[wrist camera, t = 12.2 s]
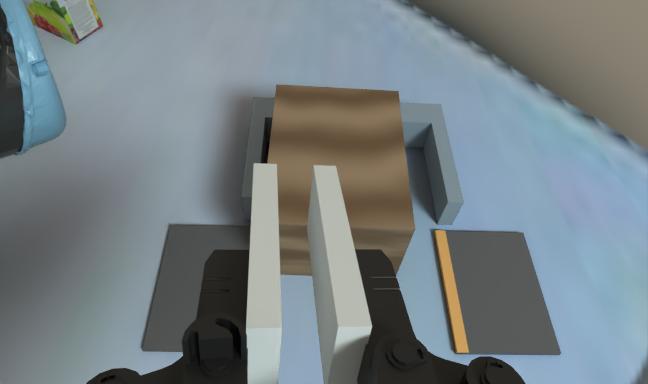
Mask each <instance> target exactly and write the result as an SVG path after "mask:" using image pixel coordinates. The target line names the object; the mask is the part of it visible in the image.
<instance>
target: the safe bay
mask: <svg viewBox="0 0 648 384" xmlns="http://www.w3.org/2000/svg"><path fill="white" fill-rule="evenodd" d="M274 103H275V98H254V97H253V104H252V112H251V120H250V128H249V136H248V144H247V152H246V160H245V168H244V176H243V184H242V192H241V200H242V206H243V213H244V219H245V220H251V210H252V189H253V167H254V163H263V164H265V157H266V146H267V143H270V137H271V128H272V120H273V111H274ZM400 109H401V118H402V126H403V134H404V142H405V147H421V148H423V150H424V155H425V160H426V166H427V171H428V177H429V182H430V187H431V193H432V198H433V204H434V209H435V214H436V220H437V224H441V225H452V224H453V222H454V220H455V218H456V216H457V214H458V212H459V210H460V208H461V206H462V205H463V203H464V201H463V197H462V193H461V188H460V184H459V180H458V176H457V171H456V167H455V163H454V159H453V154H452V150H451V146H450V141H449V137H448V133H447V129H446V124H445V120H444V116H443V112H442V107H441V104H420V103H400Z"/></svg>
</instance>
